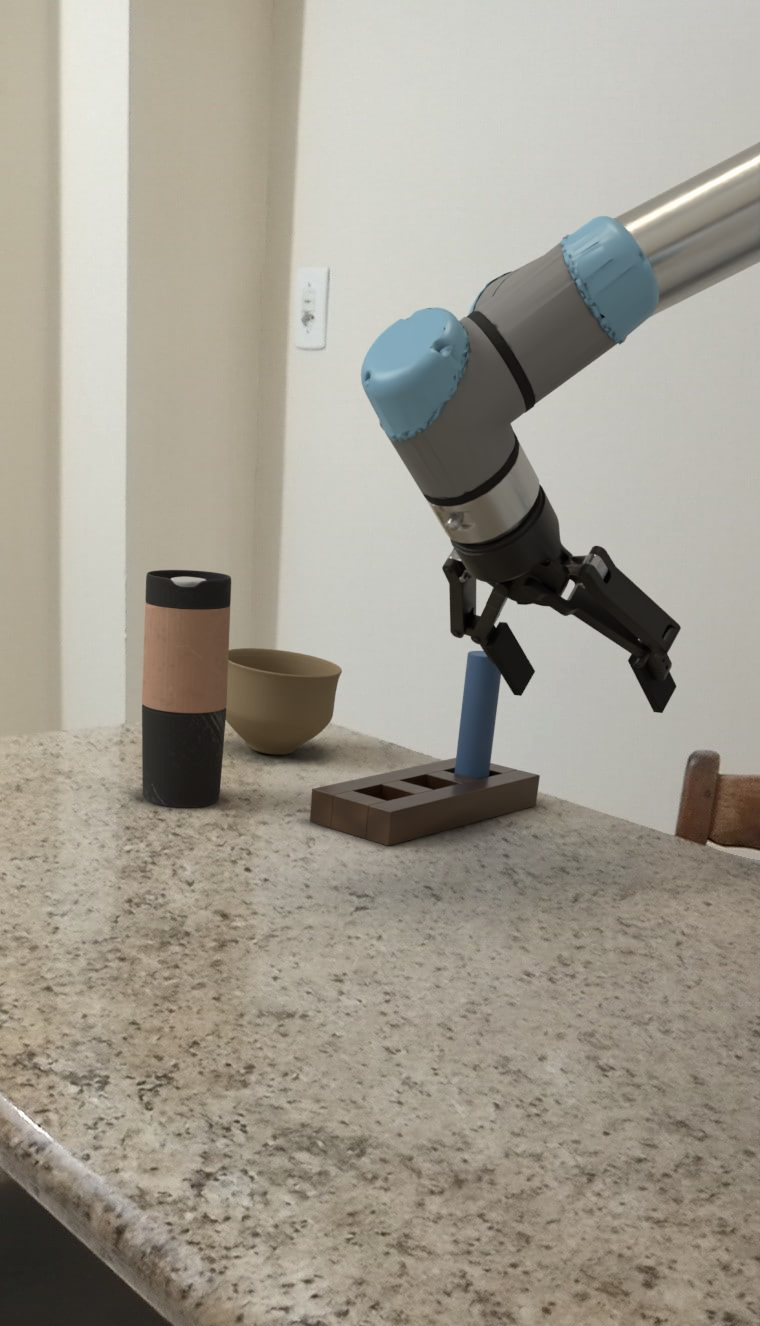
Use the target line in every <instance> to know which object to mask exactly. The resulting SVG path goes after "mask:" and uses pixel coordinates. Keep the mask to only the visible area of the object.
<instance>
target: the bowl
mask: <svg viewBox="0 0 760 1326" xmlns="http://www.w3.org/2000/svg"><path fill="white" fill-rule="evenodd" d="M342 673H343V671H342V668H341V667H340V666H339V665H338V664H336V663H334V662H332V661H330V660H326V659H324V658H320V657H317V656H314V655H309V654H304V653H300V652H294V651H289V650H281V649H272V648H259V647H258V648H257V647H248V648H246V647H242V648H241V647H240V648H231V649H229V656H228V682H227V706H226V721H225V722H226V723H227V724H228V725H229V726H230V728H231V729H232V730H233V731H235V732H236V734H237V735H238V736H239V737H240V738H241V739H243V741H244V744H245V746H246V747H248V748H249V749H250V750H252V751H255V752H257V753H262V754H267V755H273V756H274V755H275V756H283V755H289V754H292V753H294V752H295V751H296V749H297V748H298V747H300V746H302V745H304V744H306V743H307V742H309V741H311V740H312V739H314V738H315V737H317V736H318V735H320V734H321V733H322V732H323V731H324V729H326V728H327V726H328V725H329V724H330V723H331V721H332V719H333V716H334V712H335V711H334V710H335V701H336V694H337V689H338V684H339V679H340V677H341V675H342Z"/></svg>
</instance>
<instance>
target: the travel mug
mask: <svg viewBox="0 0 760 1326" xmlns="http://www.w3.org/2000/svg"><path fill="white" fill-rule="evenodd" d="M145 578H146V579H145V599H144V600H145V602H144V603H145V604H144V627H143V628H144V630H143V633H144V635H143V661H142V664H143V665H142V691H141V755H142V756H141V762H142V764H141V766H142V767H141V769H142V772H141V776H142V780H141V781H142V797H143V798H144V800H146V801H147V802H150V803H151V804H154V805H159V806H164V807H170V808H200V807H207V806H211V805H214V804H215V803H217V802H218V801H219V800H220V793H221V783H222V772H223V770H222V769H223V757H224V747H225V745H224V744H225V733H226V732H225V731H226V722H227V721H226V706H227V682H228V656H229V650H230V628H231V627H230V626H231V625H230V624H231V623H230V622H231V620H230V619H231V600H232V577H231V576H230V575H229V574H226V573H220V572H215V571H207V570H195V569H193V570H192V569H191V570H190V569H159V570H151V571H148V572H146V577H145Z"/></svg>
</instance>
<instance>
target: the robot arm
mask: <svg viewBox="0 0 760 1326" xmlns="http://www.w3.org/2000/svg"><path fill="white" fill-rule="evenodd" d="M759 263H760V141H759V142H757V143H755V144H753V145H750V146H749V147H747V148H746V149H743V150H742V151H739V152H738V153H736V154H734V155H732V156H730V157H728V158H726V159H724V160H722V161H721V162H719V163H717V164H715V165H712V166H711V167H709V168H707V169H705V170H703V171H702V172H699V173H698V174H695V175H693V176H692V177H690V178H688V179H686V180H684V181H683V182H680V183H679V184H676V185H675V186H673V187H671V188H669V189H667V190H665V191H663V192H662V193H660V194H658V195H656V196H654V197H652V198H650V199H648V200H646V201H644V202H642V203H640V204H638V205H636V206H634V207H633V208H631V209H629V210H627V211H625V212H623V213H621V214H619V215H617V216H616V217H612V216H611V217H610V216H608V215H600V216H596V217H593V218H592V219H591V220H589V221H588V222H587V223H585V224H584V225H582V226H580V228H578V229H577V230H575V231H574V232H572V233H571V234H566V235H565V236H564V237H562V239H561V240H560V242H558V243H557V244H556V245H555V246H553V247H552V248H551V249H549V251H547V252H546V253H545V254H543V255H541V256H540V257H538V258H535V259H533V260H532V261H529V262H528V263H526V264H524V265H522V266H520V267H518V268H516V269H514V270H513V271H512V270H511V271H508V272H505V273H503V274H502V275H499V276H497V277H495V278H493V279H492V280H490V281H489V282H488V283H486V284H485V286H484V288H483V289H482V290H481V291H479V292H478V294H477V296H476V298H475V299H474V301H473V303H472V305H471V306H470V309H469V311H468V314H467V315H466V316H463V317H462V318H461V319H459V320H458V318H457V317H456V315H455V314H454V313H452V312H451V311H449V310H447V309H445V308H442V307H426V308H422V309H419V310H415V311H413V313H412V314H411V315H410V316H409V317H407V318H399V319H397V320H396V321H395V322H393V323H392V324H391V325H389V326H388V327H387V328H386V329H385V330H383V331H382V332H381V333H380V334H379V335H378V337H377V338H375V340H374V341H373V343H372V344H371V345H370V347H369V348H368V350H367V352H366V354H365V356H364V359H363V362H362V365H361V369H360V382H361V385H362V389H363V392H364V393H365V395H366V397H367V399H368V401H369V403H370V405H371V407H372V409H373V410H374V412H375V414H376V416H377V418H378V421H379V426H380V428H381V429H382V430H383V431H384V433H385V435H386V437H387V439H388V440H389V441H390V443H391V444H392V447H393V448H394V450H395V451H396V453H397V455H398V457H399V458H400V460H401V461H402V462H403V464H404V466H405V467H406V469H407V471H408V472H409V474H410V476H411V478H412V480H413V481H414V483H415V484H416V486H417V487H418V489H419V491H420V492H421V494H422V496H423V497H424V498H425V500H426V502H427V503H428V505H429V507H430V508H431V511H432V512H433V514H434V515H435V517H436V519H437V521H438V523H439V524H440V526H441V527H442V530H443V531H444V533H445V534H446V536H448V538H449V540H450V543H451V546H452V547H453V549H452V550H451V552H450V553H449V554H448V557H447V558H446V560H445V561H444V563H443V564H442V566H441V569H442V572H443V574H444V576H445V578H446V580H447V582H448V587H449V588H448V589H449V631H450V634H451V635H452V636H453V637H455V638H458V639H462V638H463V637H464V636H468V637H470V640H471V641H472V642H473V643H474V644H475V645H476V644H477V645H479V646H480V648H481V649H482V651H484V652H485V654H486V655H487V657H488V659H489V660H490V661H491V662H492V663H493V664H495V665H496V666H497V668H498V670H499V671H500V673H501V677H503V680H504V681H505V682H506V685H507V686H508V687H509V689H510V691H511V693H512V694H513V695H514V696H520V697H522V696H523V694H524V693H525V690H526V689H527V687H528V685H529V683H530V682H531V680H532V678H533V676H534V675H535V673H536V670H535V668H534V666H533V665H532V663H531V661H530V659H529V658H528V656H527V655H526V653H525V652H524V649H523V647H522V646H521V645H520V642H519V641H518V639H517V637H516V636H515V634H514V633H513V631H512V629H511V628H510V625H509V623H508V622H505V621H499V622H498V623H497V621H498V619H499V617H500V615H501V613H502V611H503V609H504V607H505V605H506V603H507V601H508V599H509V600H511V601H513V602H516V604H517V605H521V606H522V605H523V606H528V605H537V606H540V607H549V608H551V609H552V610H554V611H556V612H557V613H558V614H560V615H561V616H563V617H568V616H570V615H571V616H573V617H575V618H577V620H580V621H581V622H583V623H584V624H586V625H587V626H589V627H591V628H592V629H593V630H595V631H596V632H598V633H599V634H601V635H602V636H604V637H605V638H607V639H608V640H610V641H611V642H612V643H614V644H616V645H617V646H619V647H621V648H622V649H623V650H625V651H626V652H628V653H629V654H630V655H629V658H628V659H627V662H628V664H629V666H630V669H631V670H632V672H633V674H634V676H635V678H636V680H637V682H638V684H639V686H640V688H641V690H642V691H643V694H644V696H645V698H646V700H647V701H648V704H649V706H650V707H651V709H652V711H653V713H659V714H663V712H664V711H665V709H666V707H667V705H668V703H669V701H670V700H671V698H672V696H673V694H674V692H675V691H676V689H677V684H676V682H675V680H674V678H673V676H672V674H671V672H670V670H671V669H672V665H673V663H672V661H671V658H670V657H669V655H668V653H669V651H670V650H671V647H672V646H673V644H674V642H675V641H676V638H677V636H678V635H679V633H680V631H681V628H682V627H681V625H680V624H679V623H678V622H677V621H676V620H675V619H674V618H673V617H672V616H671V615H669V614H668V613H667V612H666V611H665V610H664V609H663V608H662V607H661V606H660V605H659V604H657V602H655V601H654V600H653V599H652V598H651V597H650V596H649V595H648V594H646V593H645V592H644V591H643V590H642V589H641V588H640V587H639V586H638V585H636V584H635V582H633V580H631V578H630V577H628V576H627V575H626V574H625V573H624V572H622V570H621V569H619V568H618V567H617V565H616V564H615V563H614V561H613V559H612V558H611V556H610V555H609V553H608V551H607V550H606V549H605V548H604V547H602V546H601V545H593V546H592V547H591V549H590V550H589V552H588V554H587V555H573V553H571V551H570V550H568V549H567V548H566V547H565V546H564V545H563V544H562V541H561V532H560V531H561V530H560V522H559V518H558V515H557V513H556V512H555V510H554V508H553V505H552V503H551V502H550V500H549V497H548V495H547V494H546V492H545V489H544V488H543V486H542V485H541V484H540V479H539V477H538V475H537V473H536V471H535V469H534V467H533V466H532V464H531V462H530V460H529V458H528V456H527V454H526V452H525V451H524V449H523V447H522V445H521V442H520V440H519V439H518V436H517V434H516V433H515V430H514V429H513V426H512V423H513V422H514V421H517V419H519V418H520V417H521V416H523V415H524V414H526V413H527V412H529V411H530V410H531V409H533V408H534V407H535V406H536V404H538V403H539V402H541V401H542V400H543V399H544V398H546V397H547V396H549V395H550V394H551V393H553V392H554V391H555V390H557V389H558V388H560V387H561V386H562V385H564V384H565V383H566V382H568V381H569V380H570V379H572V378H573V377H574V376H576V375H577V374H579V373H580V372H581V371H582V370H584V369H585V368H587V367H588V366H590V365H591V364H592V363H593V362H595V361H596V360H598V359H599V358H600V357H602V356H603V355H605V353H607V352H608V351H610V350H611V349H612V348H614V347H616V346H617V345H618V346H619V345H622V344H623V343H624V342H626V340H627V338H628V336H629V335H630V334H632V333H633V332H634V331H636V329H638V328H639V327H640V326H641V325H642V324H643V323H645V322H646V321H647V320H648V319H649V318H652V317H653V316H656V315H658V314H660V313H661V312H664V311H666V310H667V309H669V308H672V307H673V306H676V305H677V304H679V303H681V302H683V301H685V300H687V299H689V298H692V297H693V296H695V295H697V294H699V293H701V292H703V291H705V290H707V289H709V288H711V287H713V286H715V285H717V284H719V283H721V282H723V281H725V280H727V279H729V278H731V277H733V276H735V275H737V274H739V273H741V272H743V271H745V270H747V269H749V268H751V267H753V266H755V265H756V264H759ZM477 581H480V582H483V583H486V584H488V585H489V586H490V587H492V589H491V592H490V594H489V597H488V598H487V601H486V602H485V606H484V608H483V609H482V612H481V614H480V615H478V614H477ZM570 581H572V582H573V583H574V587H573V588H572V590H571V592H570V594H569V595H568V597H567V599H566V598H564V597H563V594H564V592H565V591H566V589H567V587H568V585H569V582H570ZM496 623H497V625H495V624H496Z"/></svg>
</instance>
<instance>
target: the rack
mask: <svg viewBox="0 0 760 1326" xmlns="http://www.w3.org/2000/svg"><path fill="white" fill-rule="evenodd" d="M455 764H456V757H452V758H448V759H444V760H439V761H434V762H429V763H426V764H419V765H415V766H411V767H406V768H402V769H398V770H393V771H389V772H383V773H379V774H374V775H369V776H365V777H360V778H356V779H352V780H347V781H341V782H338V783H337V782H336V783H332V784H328V785H324V786H318V787H315V788H312V789H311V799H310V813H309V822H310V823H313V824H317V825H319V826H323V827H325V828H329V829H333V830H337V831H339V832H343V833H346V834H349V835H351V836H356V837H358V838H361V839H364V840H368V841H372V842H375V843H378V844H381V845H384V846H393V845H397V844H399V843H405V842H407V841H412V840H415V839H417V838H422V837H426V836H430V835H434V834H437V833H440V832H444V831H448V830H452V829H455V828H459V827H462V826H467V825H470V824H473V823H477V822H481V821H484V820H489V819H492V818H495V817H499V816H503V815H506V814H510V813H514V812H517V811H521V810H526V809H529V808H533V807H536V806H537V799H538V793H539V785H540V778H541V776H540V774H537V773H533V772H529V771H525V770H521V769H517V768H512V767H508V766H505V765H500V764H497V763H492V762H490V770H489V777H486V778H482V779H478V780H477V779H474V778H470V777H466V776H462V775H458V774H454V773H455Z"/></svg>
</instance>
